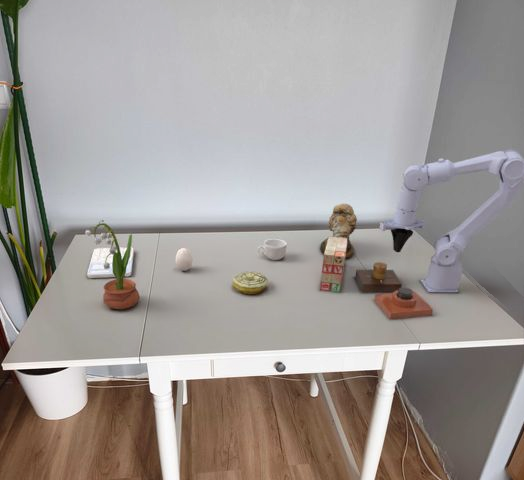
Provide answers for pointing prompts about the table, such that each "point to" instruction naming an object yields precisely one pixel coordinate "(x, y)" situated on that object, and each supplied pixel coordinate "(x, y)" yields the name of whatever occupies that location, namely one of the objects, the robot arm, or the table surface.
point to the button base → (402, 305)
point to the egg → (184, 259)
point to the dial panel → (377, 282)
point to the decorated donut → (250, 282)
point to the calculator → (99, 259)
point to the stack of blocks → (333, 264)
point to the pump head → (405, 293)
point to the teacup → (274, 248)
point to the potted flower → (117, 273)
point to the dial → (379, 270)
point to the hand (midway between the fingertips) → (396, 250)
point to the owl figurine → (342, 226)
